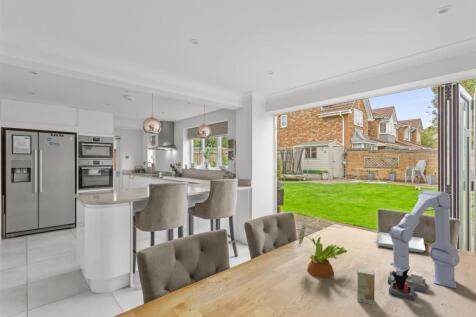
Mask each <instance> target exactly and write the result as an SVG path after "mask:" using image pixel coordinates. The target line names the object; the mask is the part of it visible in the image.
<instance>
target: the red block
mask: <svg viewBox="0 0 476 317" xmlns="http://www.w3.org/2000/svg"><path fill="white" fill-rule="evenodd" d="M395 290H398V291H402V292H406V293H409V291H408V281H405V286H404V290H399V289H397V285H396V288H395Z"/></svg>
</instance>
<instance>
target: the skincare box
mask: <svg viewBox="0 0 476 317" xmlns="http://www.w3.org/2000/svg"><path fill="white" fill-rule="evenodd" d="M356 270H357V272H356V273H357V276H356V278H357V279H356V280H357V281H356V282H357V283H356V299H357V302H358V303H359V302H360V303H365V304H368V305H369V304H370V305H375V285H376V284H375V281H376V280H375V271H374V270H373V269H372V270H371V269H367V268H359V267H358V268H357V269H356Z"/></svg>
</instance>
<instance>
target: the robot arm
mask: <svg viewBox="0 0 476 317" xmlns="http://www.w3.org/2000/svg"><path fill="white" fill-rule="evenodd" d="M417 200H418V201H417V202H416V204H415V206H414V207H413V208H412V210H411V211H410V213H406V214H405V215H404V217H403V218H402V219H401V220H400V221H399V222H398V224H397V225H395V226H394V225H393V226H392V227H391V228H390V231H389V233H390V236H391V238H392V242H393V248H392V250H393V251H392V252H393V253H392V254H393V255H392V257H393V259H392V261H391V262H390V264H389V266H390V265H391V266H393V268H394V269H395V270H396V271H394V270H392V271H391V272H392V274H393V276H394V278H395V281H396V285H397V289H399V290H404V286H405V281H406V279H407V278H408V272H409V271H410V268H411V267H410V251H409V241H410V240H411V239H412V237H413V234H414V230H415V229H416V227H417V226H418V225H419V224H420V219H419V218H421V217H422V215H423V214H424V213H425V212H426V211H427V210H428V209H429V208H432V209H433V210H434V228H435V229H434V230H435V234H434V235H435V242H433V243H431V244H430V249H429V257H430V259H431V260H432V262H434V263H433V265H434V266H433V267H434V274H433V284H435V285H441V286H444V287H448V288H452V289H457V284H456V279H455V277H456V276H455V274H456V273H455V267H456V266H458V265H459V263H460V260H461V257H460V255H459V251H458V249H457V248H456V247H455V246H454V245H453V244H452V243H451V228H450V226H451V224H450V209H451V196H450V194H449V193H447V191H441V190H440V191H438V190H429V189H422V190H421V191H420V192H419V194H417Z"/></svg>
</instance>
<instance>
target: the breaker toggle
mask: <svg viewBox="0 0 476 317" xmlns="http://www.w3.org/2000/svg"><path fill="white" fill-rule="evenodd" d="M410 272H411V273H410V276H411V281H412V282H416V283H420V284H422V279H423V272H418V271H414V270H411V271H410Z"/></svg>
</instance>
